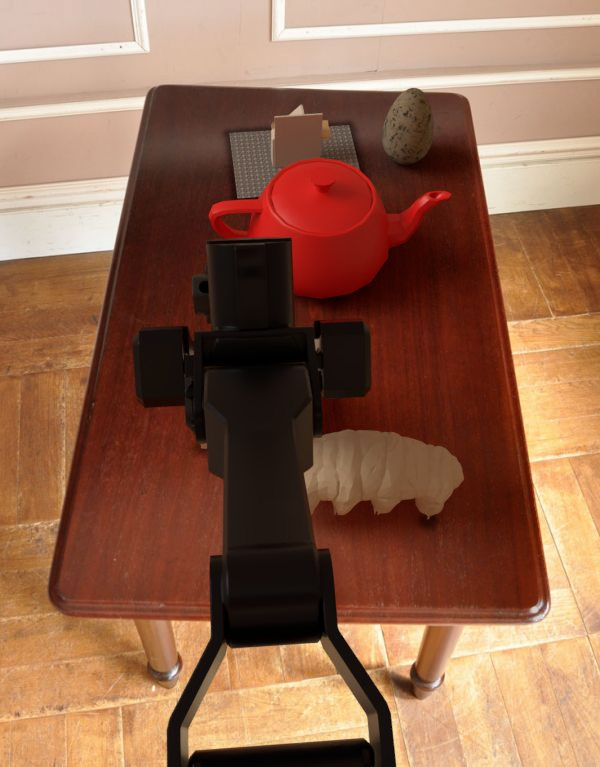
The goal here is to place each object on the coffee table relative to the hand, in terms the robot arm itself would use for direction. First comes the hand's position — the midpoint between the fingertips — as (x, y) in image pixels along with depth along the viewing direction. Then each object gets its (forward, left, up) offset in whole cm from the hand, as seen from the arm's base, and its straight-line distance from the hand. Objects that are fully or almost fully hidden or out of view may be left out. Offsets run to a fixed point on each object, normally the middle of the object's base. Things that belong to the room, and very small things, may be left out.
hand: (251, 346), depth 77 cm
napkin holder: (+35, 0, -9) cm, 36 cm away
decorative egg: (+37, -13, -9) cm, 40 cm away
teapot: (+20, -5, -9) cm, 22 cm away
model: (-10, -11, -9) cm, 17 cm away
